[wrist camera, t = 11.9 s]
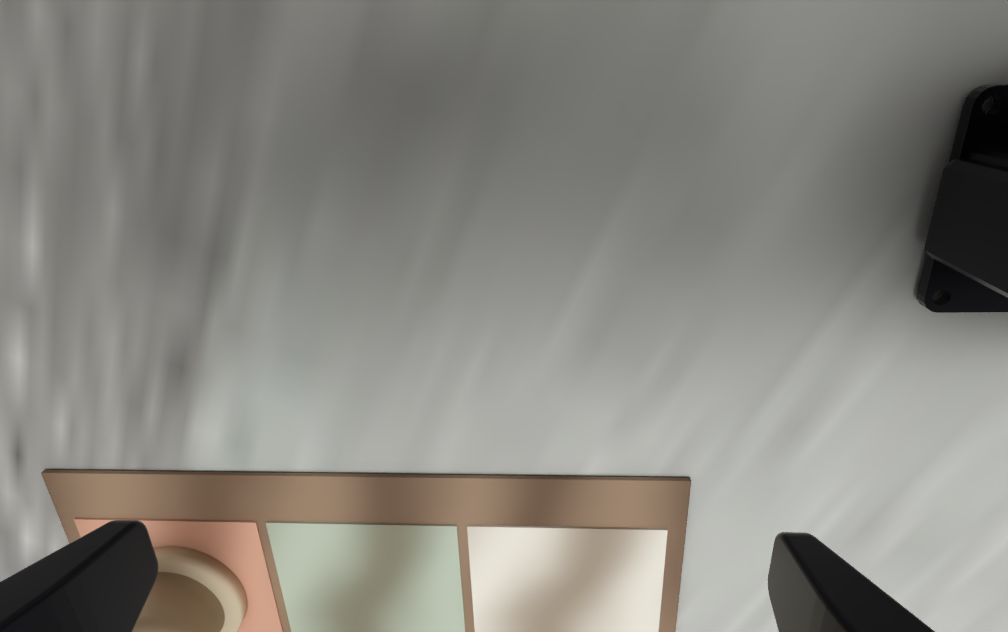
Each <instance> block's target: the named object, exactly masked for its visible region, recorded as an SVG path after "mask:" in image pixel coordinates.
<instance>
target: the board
mask: <svg viewBox="0 0 1008 632" xmlns="http://www.w3.org/2000/svg"><path fill="white" fill-rule="evenodd" d="M41 474H42V476H43V479H44V481H45V484H46V486H47V489H48V491H49V494H50V496H51V499H52V501H53V504H54V506H55V508H56V511H57V513H58V516H59V518H60V521H61V523H62V526H63V528H64V531H65V533H66V536H67V538H68V541H69V543H72V542H74V541H75V540H77V539H79V538H81V537H83V536H84V535H86V534H88V533H90V532H92V531H93V530H95V529H97V528H99V527H101V526H103V525H104V524H106V523H108V522H110V521H114V520H137V521H141V522H142V523H143V524H144V525H145V526H146V528H147V530H148V533H149V536H150V539H151V542H152V545H153V548H156V547H161V546H181V547H187V548H191V549H195V550H198V551H201V552H203V553H206V554H208V555H210V556H212V557H214V558H215V559H217V560H219V561H220V562H222V563H223V564H224V565H226V566H227V567H228V568H229V569H230V570H231V571H232V572H233V573H234V574H235V575H236V576H237V577H238V579H239V580H240V582H241V583H242V585H243V587H244V589H245V592H246V595H247V600H248V608H247V613H246V615H245V618H244V619H243V621H242V623H241V625H240V627H239V629H238V631H237V632H675V630H676V620H677V611H678V601H679V591H680V582H681V572H682V563H683V553H684V544H685V534H686V525H687V515H688V505H689V496H690V486H691V480H690V478H676V477H595V476H514V475H433V474H351V473H270V472H189V471H108V470H44V471H43V472H42V473H41Z"/></svg>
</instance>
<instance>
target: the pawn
mask: <svg viewBox="0 0 1008 632" xmlns="http://www.w3.org/2000/svg"><path fill="white" fill-rule="evenodd" d="M154 551H155V554H156V557H157V560H158V574H157V578H156V581H155V583H154V586H153V588H152V590H151V592H150V594H149V596H148V598H147V601H146V603H145V605H144V607H143V609H142V611H141V614H140V616H139V618H138V620H137V622H136V624H135V626H134V629H133V631H132V632H237V631H238V629H239V627H240V625H241V623H242V621H243V619H244V618H245V615H246V613H247V608H248V600H247V595H246V592H245V589H244V587H243V585H242V583H241V582H240V580H239V579H238V577H237V576H236V575H235V574H234V573H233V572H232V571H231V570H230V569H229V568H228V567H227V566H226V565H224V564H223V563H222V562H220V561H219V560H217V559H215V558H214V557H212V556H210V555H208V554H206V553H203V552H201V551H198V550H195V549H191V548H187V547H181V546H161V547H156V548H154Z"/></svg>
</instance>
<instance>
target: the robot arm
mask: <svg viewBox="0 0 1008 632" xmlns="http://www.w3.org/2000/svg"><path fill="white" fill-rule="evenodd" d="M990 96H991V97H992V98H993V104H992V106H991V108H990V109H989V110H988V111H987V112H986V113H984V112H983V111H982V105H983V103H984V101H985V100H986V99H987V98H989V97H990ZM925 251H926V252H927V255H926V259H925V263H924V268H923V272H922V276H921V280H920V284H919V288H918V292H917V299H918V301H919V303H920V304H922V305H923V306H924V307H926V308H927V309H929V310H930V311H933V312H1008V84H992V85H984V86H980V87H978V88H976V89H975V90H973V91H972V92H971V93H970V94H969V95H968V97H967V98H966V100H965V103H964V105H963V109H962V113H961V117H960V121H959V125H958V129H957V133H956V137H955V141H954V146H953V150H952V154H951V158H950V162H949V164H948V165H947V166H946V167H945V168H944V171H943V175H942V179H941V183H940V187H939V191H938V195H937V199H936V204H935V208H934V212H933V216H932V220H931V224H930V228H929V232H928V236H927V240H926V245H925ZM939 290H943V294H942V295H941V297H939V298H938V299H936V300H933V296H934V295H935V293H936V292H938V291H939ZM157 574H158V560H157V557H156V554H155V551H154V548H153V545H152V542H151V539H150V536H149V533H148V530H147V528H146V526H145V525H144V524H143V523H142V522H141V521H137V520H114V521H110V522H108V523H106V524H104V525H103V526H101V527H99V528H97V529H95V530H93V531H92V532H90V533H88V534H86V535H84V536H83V537H81V538H79V539H77V540H75V541H74V542H72V543H70V544H68V545H66V546H65V547H63V548H61V549H59V550H57V551H56V552H54V553H52V554H50V555H48V556H47V557H45V558H43V559H41V560H39V561H38V562H36V563H34V564H32V565H30V566H28V567H27V568H25V569H23V570H21V571H19V572H18V573H16V574H14V575H12V576H10V577H9V578H7V579H5V580H3V581H1V582H0V632H132V631H133V629H134V626H135V624H136V622H137V620H138V618H139V616H140V614H141V611H142V609H143V607H144V605H145V603H146V601H147V598H148V596H149V594H150V592H151V590H152V588H153V586H154V583H155V581H156V578H157ZM768 590H769V596H770V600H771V604H772V607H773V611H774V615H775V619H776V622H777V626H778V630H779V632H935V631H933V630H932V629H931V628H930V627H928V626H927V625H926V624H924V623H923V622H922V621H921V620H919V619H918V618H917V617H916V616H914V615H913V614H912V613H911V612H909V611H908V610H907V609H905V608H904V607H903V606H902V605H900V604H899V603H898V602H897V601H895V600H894V599H893V598H892V597H890V596H889V595H888V594H886V593H885V592H884V591H883V590H881V589H880V588H879V587H878V586H876V585H875V584H874V583H873V582H871V581H870V580H869V579H867V578H866V577H865V576H864V575H862V574H861V573H860V572H859V571H857V570H856V569H855V568H854V567H852V566H851V565H850V564H849V563H847V562H846V561H845V560H843V559H842V558H841V557H840V556H838V555H837V554H836V553H835V552H833V551H832V550H831V549H830V548H828V547H827V546H826V545H824V544H823V543H822V542H821V541H819V540H818V539H817V538H816V537H814V536H813V535H811V534H808V533H792V532H783V533H780V534H778V535H777V537H776V538H775V542H774V547H773V553H772V558H771V564H770V569H769V575H768Z"/></svg>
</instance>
